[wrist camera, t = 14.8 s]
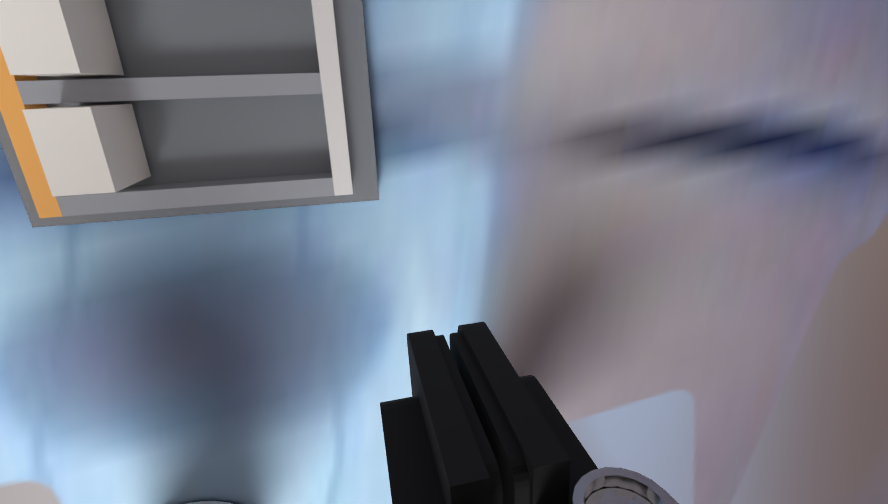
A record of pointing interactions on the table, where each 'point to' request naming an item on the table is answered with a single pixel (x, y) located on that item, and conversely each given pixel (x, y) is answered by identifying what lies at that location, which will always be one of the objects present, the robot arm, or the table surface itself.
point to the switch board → (216, 110)
